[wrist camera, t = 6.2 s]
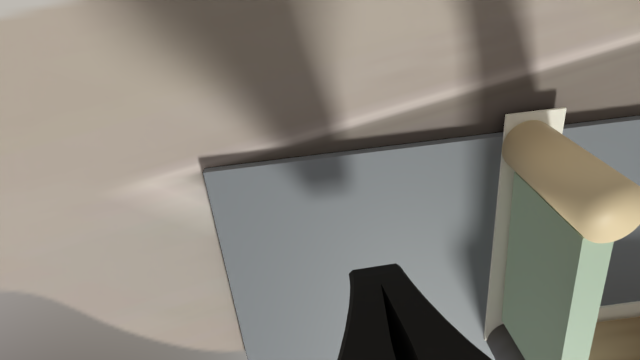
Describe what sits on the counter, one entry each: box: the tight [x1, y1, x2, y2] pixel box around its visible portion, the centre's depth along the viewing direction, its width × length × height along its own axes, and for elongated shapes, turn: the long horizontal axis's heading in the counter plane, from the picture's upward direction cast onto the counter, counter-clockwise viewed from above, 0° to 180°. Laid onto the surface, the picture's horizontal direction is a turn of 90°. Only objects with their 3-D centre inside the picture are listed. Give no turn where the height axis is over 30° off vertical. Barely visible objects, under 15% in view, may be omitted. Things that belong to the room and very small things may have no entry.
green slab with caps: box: [502, 120, 640, 360], centre depth 14 cm, size 8×2×4 cm, turn 7°
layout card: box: [203, 107, 640, 360], centre depth 17 cm, size 20×14×1 cm
